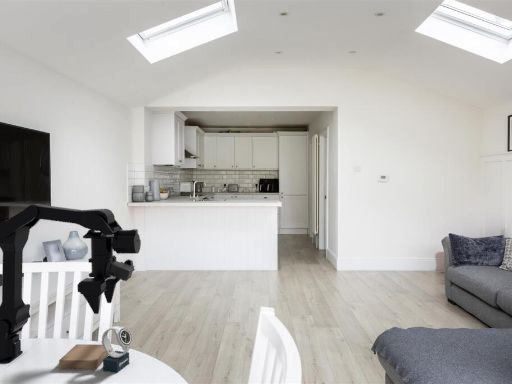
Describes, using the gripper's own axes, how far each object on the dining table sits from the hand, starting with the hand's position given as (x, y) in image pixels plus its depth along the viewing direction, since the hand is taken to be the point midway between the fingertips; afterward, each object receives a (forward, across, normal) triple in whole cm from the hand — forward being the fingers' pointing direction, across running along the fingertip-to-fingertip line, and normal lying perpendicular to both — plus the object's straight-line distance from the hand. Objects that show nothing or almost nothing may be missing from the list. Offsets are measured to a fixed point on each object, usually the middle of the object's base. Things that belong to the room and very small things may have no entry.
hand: (103, 308), depth 112 cm
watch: (+15, -5, -5) cm, 17 cm away
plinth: (+14, -2, +5) cm, 15 cm away
